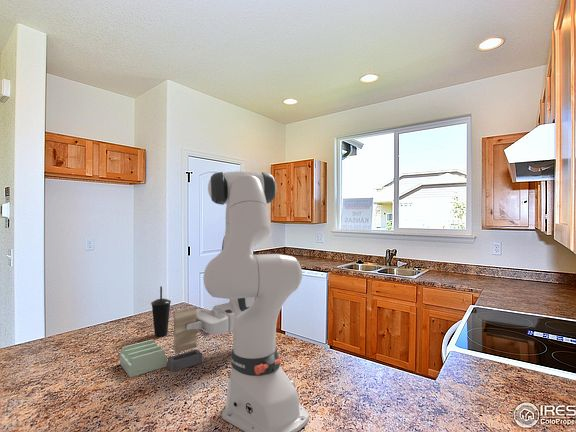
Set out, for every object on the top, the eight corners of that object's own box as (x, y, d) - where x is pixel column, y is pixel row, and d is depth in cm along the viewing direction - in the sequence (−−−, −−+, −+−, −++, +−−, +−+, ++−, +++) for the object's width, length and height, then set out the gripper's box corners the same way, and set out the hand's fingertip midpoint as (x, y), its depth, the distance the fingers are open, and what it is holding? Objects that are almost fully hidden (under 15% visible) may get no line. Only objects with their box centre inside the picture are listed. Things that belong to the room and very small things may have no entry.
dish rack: (166, 366, 103) (166, 349, 103) (130, 377, 95) (130, 359, 95) (154, 354, 112) (154, 338, 112) (120, 363, 104) (120, 347, 104)
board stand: (202, 362, 105) (202, 353, 105) (172, 372, 99) (172, 362, 99) (196, 357, 109) (196, 349, 109) (167, 367, 102) (167, 357, 102)
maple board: (196, 347, 105) (196, 308, 105) (175, 353, 100) (175, 312, 100) (194, 345, 106) (194, 307, 106) (173, 351, 102) (173, 311, 102)
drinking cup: (146, 337, 127) (146, 287, 127) (159, 330, 135) (159, 284, 135) (162, 339, 125) (162, 289, 125) (174, 332, 132) (174, 285, 133)
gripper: (207, 302, 120) (171, 309, 111) (236, 314, 105) (197, 323, 96) (207, 319, 120) (171, 327, 111) (236, 333, 105) (197, 344, 95)
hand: (184, 325), depth 103 cm, fingers closed on maple board, 2 cm apart
